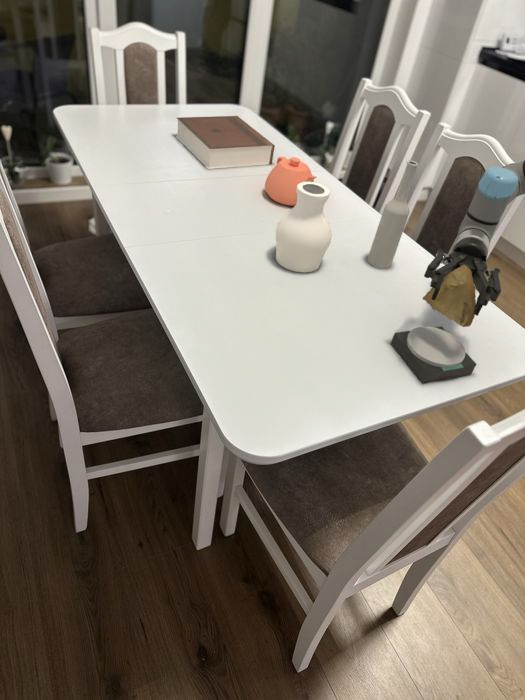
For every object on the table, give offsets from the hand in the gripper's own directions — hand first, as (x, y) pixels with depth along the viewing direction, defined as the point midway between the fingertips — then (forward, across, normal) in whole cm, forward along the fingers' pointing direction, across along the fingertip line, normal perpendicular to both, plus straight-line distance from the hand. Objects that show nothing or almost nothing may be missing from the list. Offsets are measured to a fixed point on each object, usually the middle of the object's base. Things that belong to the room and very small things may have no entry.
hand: (456, 301), depth 105 cm
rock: (-5, 0, -6) cm, 8 cm away
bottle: (-37, +20, -18) cm, 46 cm away
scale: (-4, 0, -18) cm, 18 cm away
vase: (-24, +39, -18) cm, 49 cm away
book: (-77, +88, -18) cm, 118 cm away
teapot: (-57, +54, -18) cm, 80 cm away
